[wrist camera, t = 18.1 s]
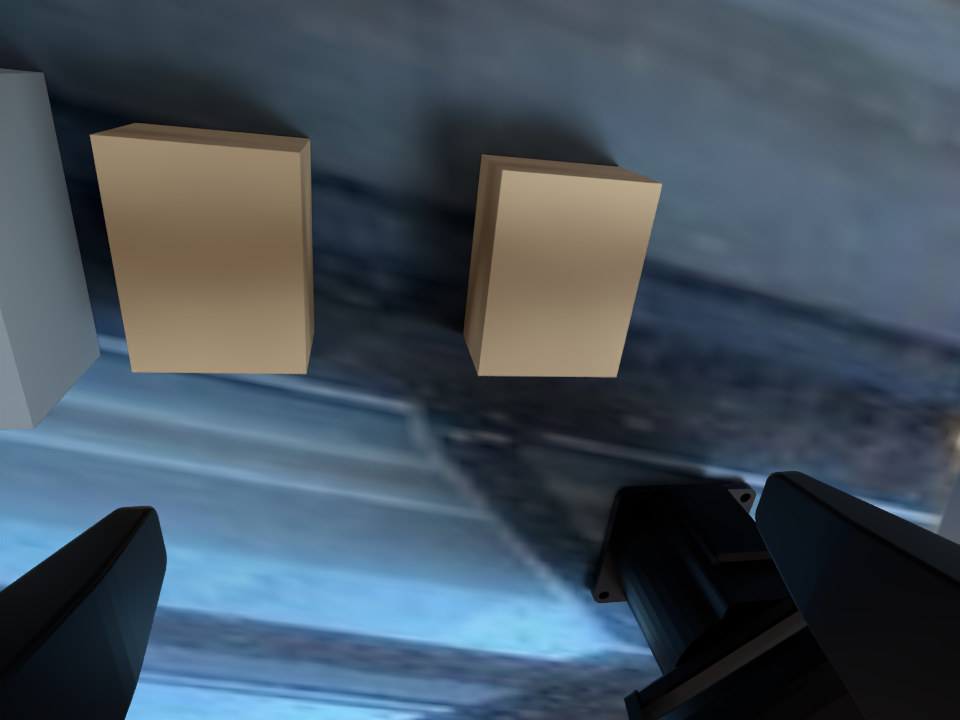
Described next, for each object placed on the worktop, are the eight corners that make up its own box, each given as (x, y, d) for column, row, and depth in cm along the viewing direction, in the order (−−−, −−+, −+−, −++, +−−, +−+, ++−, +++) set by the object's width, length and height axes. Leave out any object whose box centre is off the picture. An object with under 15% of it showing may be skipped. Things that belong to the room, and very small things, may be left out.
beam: (584, 338, 21) (616, 377, 18) (165, 327, 18) (132, 372, 15) (619, 166, 18) (662, 184, 16) (136, 123, 15) (90, 134, 13)
